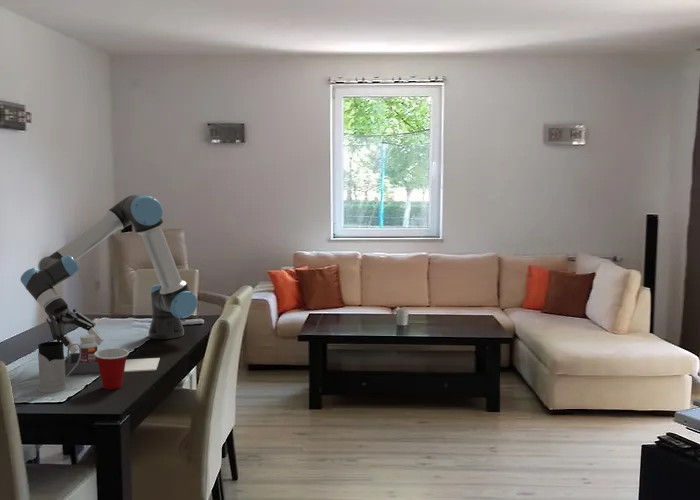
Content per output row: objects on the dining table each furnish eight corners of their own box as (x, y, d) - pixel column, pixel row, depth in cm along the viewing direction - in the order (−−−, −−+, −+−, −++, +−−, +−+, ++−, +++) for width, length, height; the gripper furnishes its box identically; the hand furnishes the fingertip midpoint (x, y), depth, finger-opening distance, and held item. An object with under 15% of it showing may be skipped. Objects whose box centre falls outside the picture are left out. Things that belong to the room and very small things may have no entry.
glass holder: (34, 388, 225) (32, 344, 224) (77, 379, 235) (75, 337, 234) (44, 394, 219) (42, 348, 218) (87, 385, 229) (86, 341, 227)
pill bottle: (90, 369, 246) (89, 338, 245) (76, 367, 248) (74, 337, 246) (101, 364, 252) (100, 334, 250) (87, 363, 254) (86, 333, 252)
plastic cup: (110, 394, 219) (108, 357, 218) (88, 388, 225) (87, 353, 223) (137, 385, 228) (136, 350, 227) (115, 380, 234) (114, 346, 233)
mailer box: (159, 359, 262) (159, 348, 262) (156, 370, 246) (155, 359, 246) (70, 363, 256) (70, 353, 255) (61, 375, 240) (60, 364, 240)
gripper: (71, 304, 265) (105, 345, 261) (21, 317, 241) (58, 362, 238) (81, 291, 262) (116, 332, 259) (32, 303, 239) (69, 348, 236)
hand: (88, 347), depth 248 cm, fingers open, 13 cm apart
